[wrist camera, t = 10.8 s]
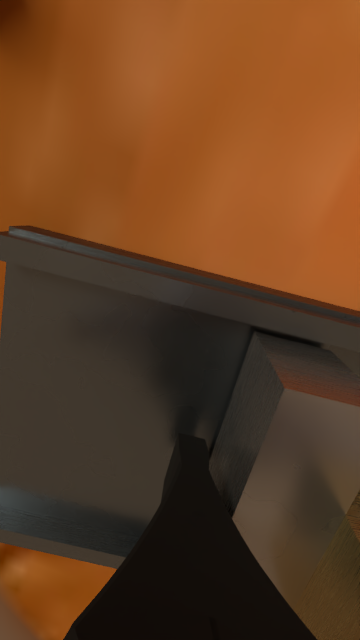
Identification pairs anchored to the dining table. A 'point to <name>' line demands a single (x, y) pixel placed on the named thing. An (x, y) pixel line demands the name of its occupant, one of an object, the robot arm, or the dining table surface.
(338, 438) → the bar
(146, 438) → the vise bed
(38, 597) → the dining table surface
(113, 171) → the dining table surface
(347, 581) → the brass block
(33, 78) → the dining table surface
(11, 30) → the dining table surface
